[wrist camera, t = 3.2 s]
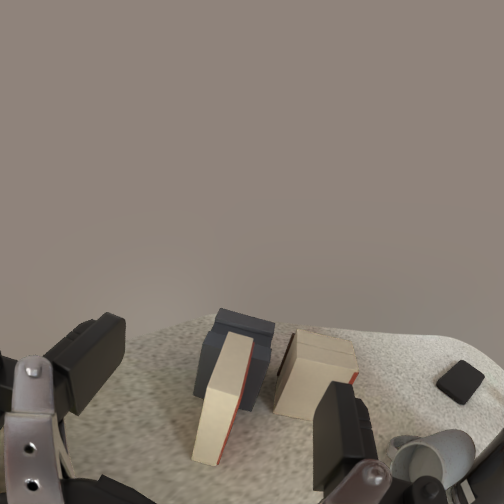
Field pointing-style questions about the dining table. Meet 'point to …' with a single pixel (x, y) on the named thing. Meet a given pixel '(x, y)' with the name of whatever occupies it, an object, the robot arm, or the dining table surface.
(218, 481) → the dining table surface
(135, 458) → the dining table surface
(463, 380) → the phone
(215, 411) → the thin ivory book
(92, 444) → the dining table surface
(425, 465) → the ceramic mug
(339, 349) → the ivory books
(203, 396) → the grey books
